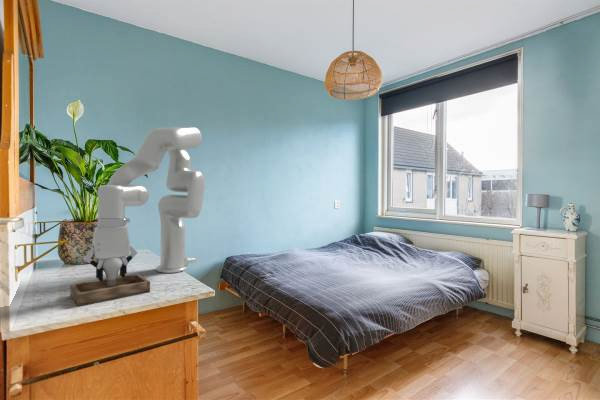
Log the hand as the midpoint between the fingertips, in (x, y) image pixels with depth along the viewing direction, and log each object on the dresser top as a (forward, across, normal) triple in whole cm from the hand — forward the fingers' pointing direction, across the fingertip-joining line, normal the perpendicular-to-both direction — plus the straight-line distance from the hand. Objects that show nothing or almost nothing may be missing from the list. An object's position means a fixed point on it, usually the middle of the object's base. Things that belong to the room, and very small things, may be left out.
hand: (111, 277), depth 102 cm
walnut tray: (+5, 0, 0) cm, 5 cm away
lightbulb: (+3, 0, 0) cm, 3 cm away
